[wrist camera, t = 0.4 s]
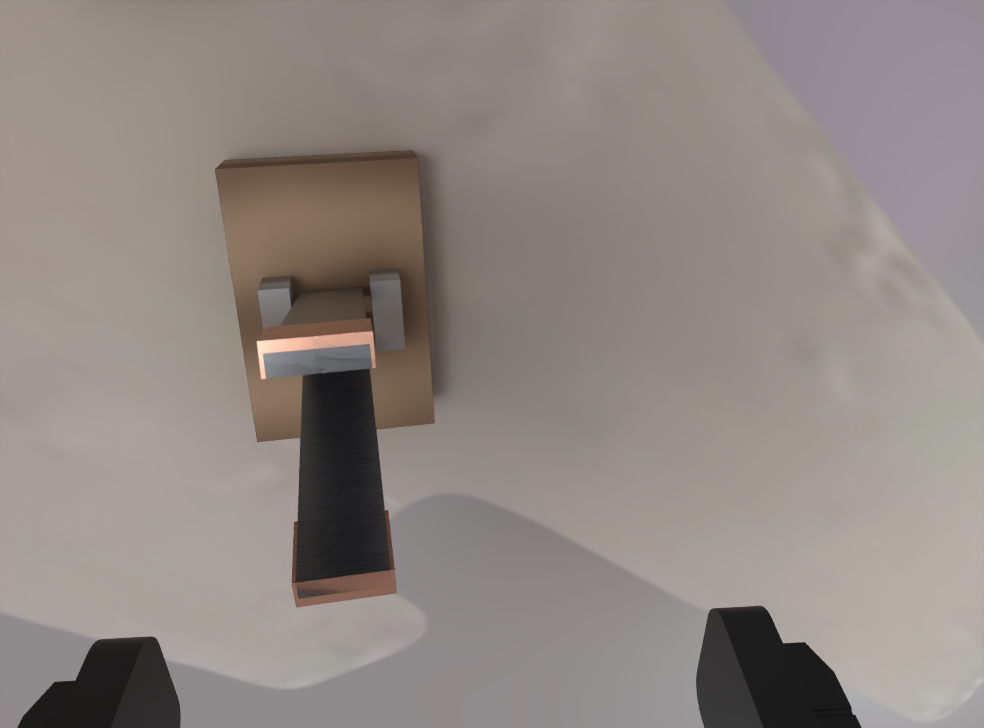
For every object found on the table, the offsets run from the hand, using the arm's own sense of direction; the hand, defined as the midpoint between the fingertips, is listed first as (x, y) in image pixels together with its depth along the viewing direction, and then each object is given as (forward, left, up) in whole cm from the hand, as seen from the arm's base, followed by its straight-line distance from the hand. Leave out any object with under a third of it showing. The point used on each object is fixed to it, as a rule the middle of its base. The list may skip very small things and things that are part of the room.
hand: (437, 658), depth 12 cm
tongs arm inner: (0, -2, -24) cm, 24 cm away
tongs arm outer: (+1, -3, -24) cm, 24 cm away
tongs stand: (+1, -2, -27) cm, 27 cm away
